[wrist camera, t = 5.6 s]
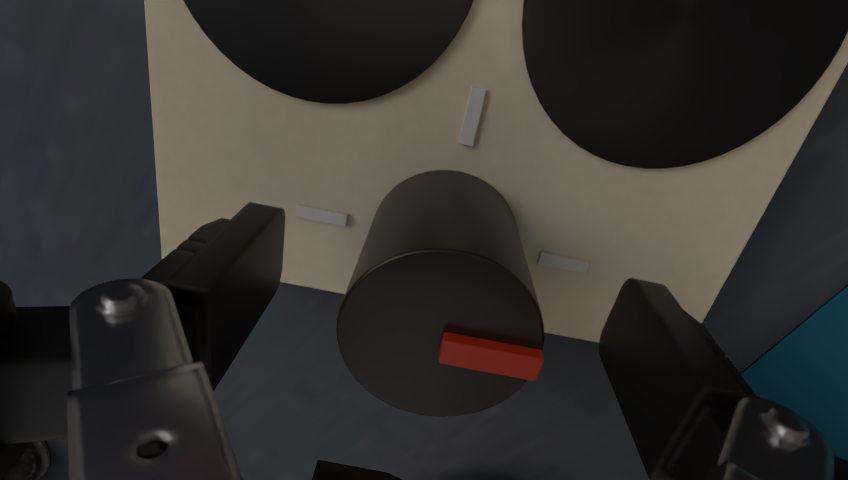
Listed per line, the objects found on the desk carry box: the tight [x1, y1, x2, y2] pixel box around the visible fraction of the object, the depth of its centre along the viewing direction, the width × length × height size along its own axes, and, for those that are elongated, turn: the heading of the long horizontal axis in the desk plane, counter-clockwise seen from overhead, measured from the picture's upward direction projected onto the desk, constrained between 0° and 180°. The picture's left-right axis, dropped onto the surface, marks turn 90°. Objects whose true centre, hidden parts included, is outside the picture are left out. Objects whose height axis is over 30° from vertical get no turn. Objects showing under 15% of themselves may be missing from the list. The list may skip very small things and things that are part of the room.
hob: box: [144, 0, 848, 343], centre depth 13 cm, size 16×15×3 cm
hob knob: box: [337, 170, 544, 417], centre depth 11 cm, size 4×4×5 cm
